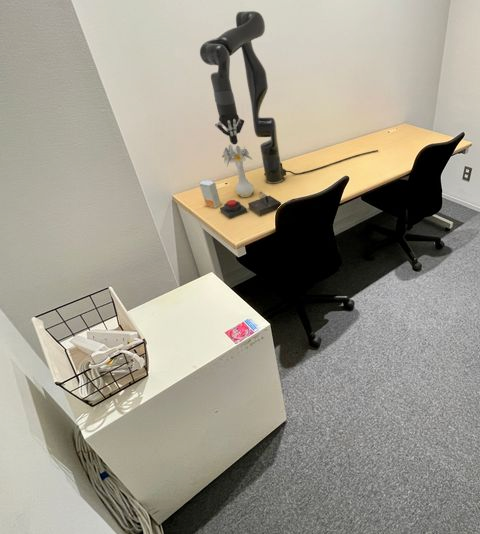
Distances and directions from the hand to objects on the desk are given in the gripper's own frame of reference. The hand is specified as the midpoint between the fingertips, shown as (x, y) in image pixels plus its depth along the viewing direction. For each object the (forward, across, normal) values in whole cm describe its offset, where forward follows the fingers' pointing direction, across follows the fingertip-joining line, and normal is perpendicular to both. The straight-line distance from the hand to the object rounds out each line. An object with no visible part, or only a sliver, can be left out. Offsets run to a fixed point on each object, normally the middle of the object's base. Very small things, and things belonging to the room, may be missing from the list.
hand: (234, 143), depth 146 cm
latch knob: (+26, +3, -12) cm, 29 cm away
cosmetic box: (+29, -14, +8) cm, 33 cm away
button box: (+29, -10, -5) cm, 31 cm away
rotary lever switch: (+29, +3, -12) cm, 31 cm away
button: (+25, -10, -5) cm, 28 cm away
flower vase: (+29, +3, +8) cm, 30 cm away
